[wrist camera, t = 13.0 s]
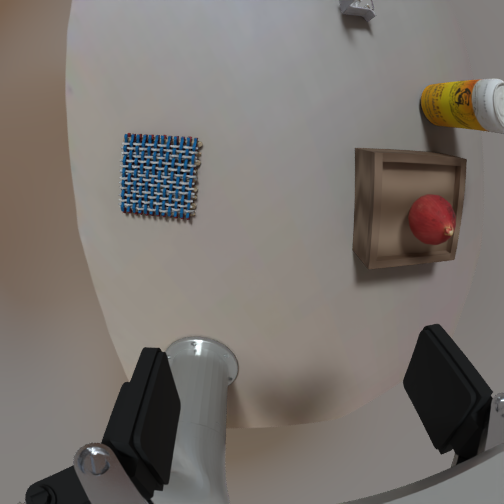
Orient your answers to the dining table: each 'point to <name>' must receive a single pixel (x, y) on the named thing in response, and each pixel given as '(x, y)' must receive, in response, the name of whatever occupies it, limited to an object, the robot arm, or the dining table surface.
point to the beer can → (466, 104)
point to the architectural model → (356, 9)
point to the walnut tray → (402, 204)
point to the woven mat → (158, 175)
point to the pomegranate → (432, 219)
